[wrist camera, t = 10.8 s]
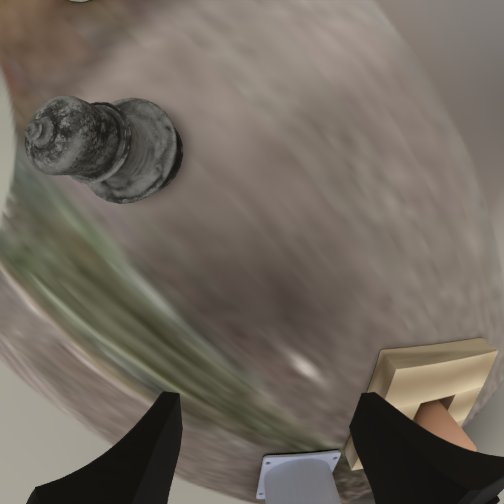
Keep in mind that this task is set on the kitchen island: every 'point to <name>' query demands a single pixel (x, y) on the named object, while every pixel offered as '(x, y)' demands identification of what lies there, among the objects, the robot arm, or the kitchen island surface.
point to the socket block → (430, 379)
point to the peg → (442, 424)
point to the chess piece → (106, 145)
